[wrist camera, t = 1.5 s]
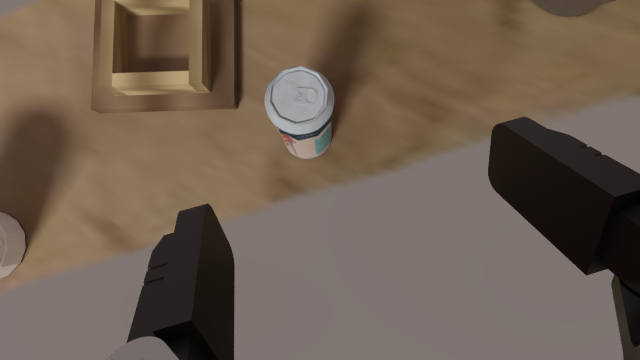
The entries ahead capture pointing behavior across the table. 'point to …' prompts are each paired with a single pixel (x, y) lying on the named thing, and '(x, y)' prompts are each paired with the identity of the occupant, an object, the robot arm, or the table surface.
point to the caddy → (164, 55)
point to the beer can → (301, 110)
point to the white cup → (10, 244)
